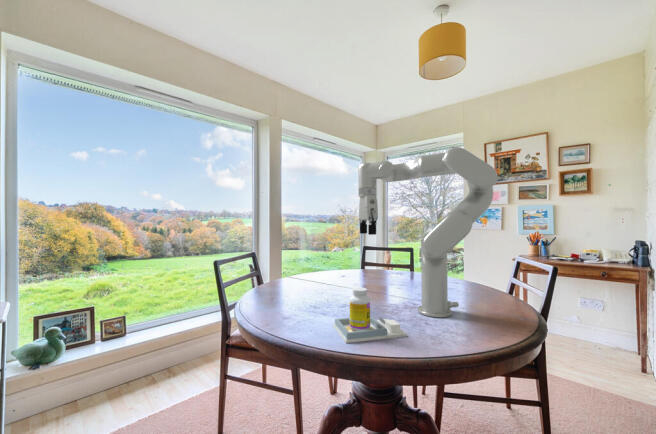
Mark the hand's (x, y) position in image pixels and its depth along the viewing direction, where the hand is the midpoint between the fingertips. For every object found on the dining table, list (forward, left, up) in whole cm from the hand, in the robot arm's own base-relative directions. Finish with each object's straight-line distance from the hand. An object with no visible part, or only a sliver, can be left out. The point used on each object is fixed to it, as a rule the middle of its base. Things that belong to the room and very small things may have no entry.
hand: (367, 233), depth 122 cm
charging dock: (+10, +25, -30) cm, 41 cm away
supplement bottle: (+13, +25, -30) cm, 41 cm away
